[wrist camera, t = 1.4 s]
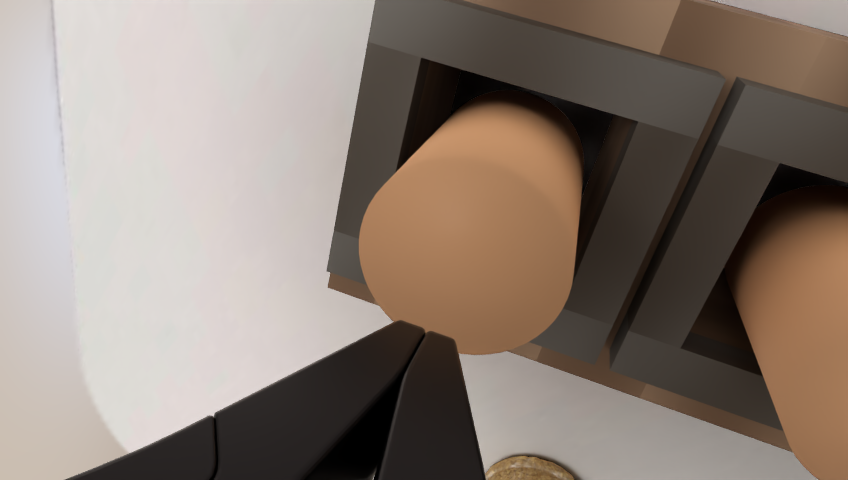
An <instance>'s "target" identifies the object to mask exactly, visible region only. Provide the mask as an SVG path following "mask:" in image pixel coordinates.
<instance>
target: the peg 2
mask: <svg viewBox="0 0 848 480" xmlns="http://www.w3.org/2000/svg"><path fill="white" fill-rule="evenodd" d="M725 274H726V279H727V282H728V285H729V287H730V290H731V292H732V295H733V298H734V300H735V303H736V306H737V308H738V311H739V314H740V316H741V319H742V322H743V324H744V327H745V330H746V332H747V335H748V337H749V340H750V343H751V345H752V348H753V351H754V353H755V356H756V359H757V361H758V364H759V367H760V369H761V372H762V375H763V377H764V380H765V383H766V385H767V388H768V390H769V393H770V396H771V398H772V401H773V404H774V406H775V409H776V412H777V414H778V417H779V420H780V422H781V425H782V428H783V430H784V433H785V435H786V438H787V441H788V443H789V446H790V448H791V449H792V451H793V453H794V454H795V456H796V458H797V459H798V460H799V461H800V462H801V464H802V465H803V466H804V467H805V468H806V469H807V470H808V471H809V472H810V473H811V474H812V475H813V476H815V477H816V478H817V479H819V480H848V187H844V186H836V185H815V186H806V187H802V188H797V189H793V190H790V191H787V192H784V193H781V194H779V195H777V196H775V197H773V198H771V199H769V200H767V201H766V202H764V203H762V204H761V205H759V206H758V207H757V208H755V210H754V212H753V214H752V216H751V217H750V219H749V221H748V223H747V225H746V227H745V229H744V231H743V232H742V234H741V236H740V238H739V240H738V242H737V244H736V245H735V247H734V249H733V251H732V253H731V255H730V257H729V259H728V260H727V262H726V264H725Z"/></svg>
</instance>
